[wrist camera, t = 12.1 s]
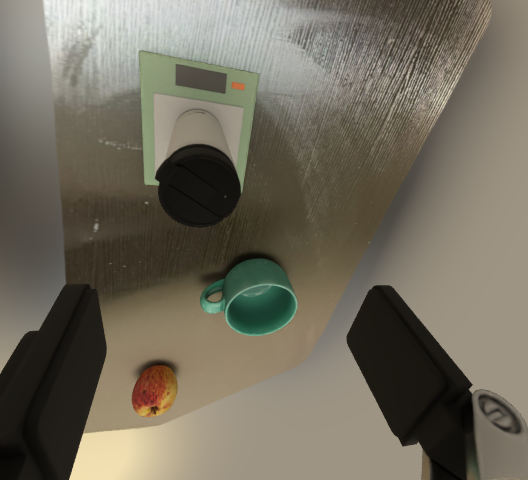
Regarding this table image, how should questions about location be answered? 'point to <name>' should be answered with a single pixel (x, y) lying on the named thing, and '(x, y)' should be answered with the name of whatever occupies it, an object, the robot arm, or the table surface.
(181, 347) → the table surface
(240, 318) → the mug
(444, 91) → the table surface
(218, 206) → the travel mug
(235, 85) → the scale
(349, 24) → the table surface
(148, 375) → the apple
